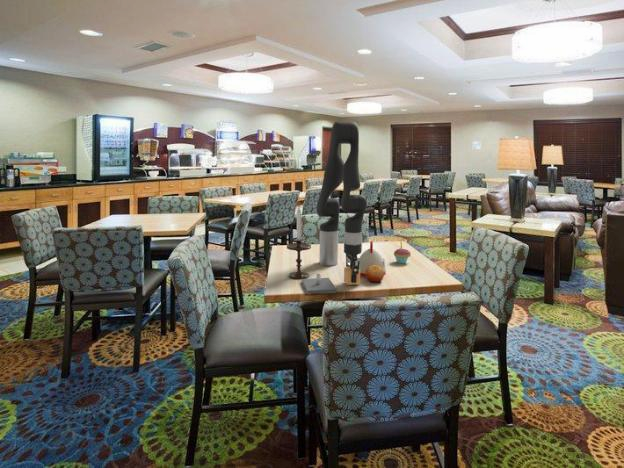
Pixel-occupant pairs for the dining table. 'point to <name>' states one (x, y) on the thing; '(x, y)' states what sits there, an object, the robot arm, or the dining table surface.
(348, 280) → the peach colored cube
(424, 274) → the dining table surface
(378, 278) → the fruit
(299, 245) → the candlestick
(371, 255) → the kitchen timer
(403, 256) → the cupcake
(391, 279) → the dining table surface
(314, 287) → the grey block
